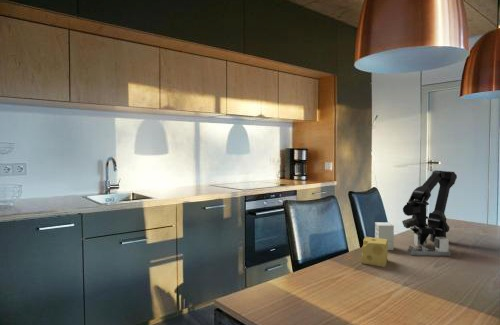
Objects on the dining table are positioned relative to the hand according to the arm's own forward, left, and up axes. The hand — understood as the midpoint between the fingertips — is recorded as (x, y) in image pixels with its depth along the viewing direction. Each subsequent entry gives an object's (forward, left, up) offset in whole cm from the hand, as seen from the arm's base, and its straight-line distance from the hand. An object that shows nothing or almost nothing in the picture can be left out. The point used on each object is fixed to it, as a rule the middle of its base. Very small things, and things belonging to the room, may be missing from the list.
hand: (419, 243), depth 172 cm
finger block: (0, 0, -1) cm, 1 cm away
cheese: (+31, +26, -2) cm, 40 cm away
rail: (+2, +14, -1) cm, 14 cm away
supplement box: (+20, +5, -2) cm, 21 cm away
